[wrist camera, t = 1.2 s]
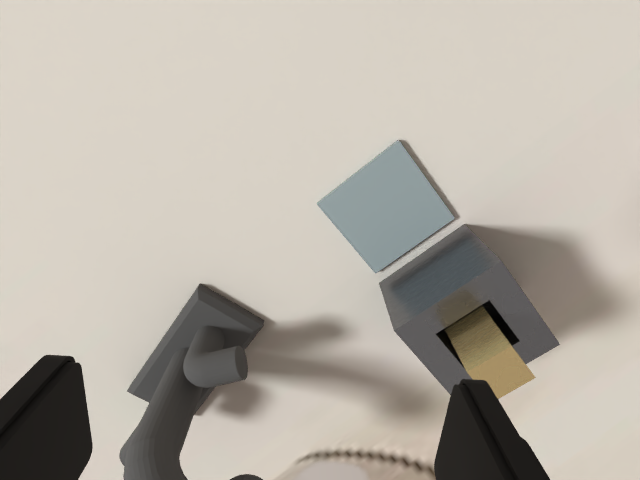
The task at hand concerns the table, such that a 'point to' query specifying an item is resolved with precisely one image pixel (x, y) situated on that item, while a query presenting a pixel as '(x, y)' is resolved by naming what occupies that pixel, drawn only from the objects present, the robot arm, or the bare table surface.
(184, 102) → the table surface
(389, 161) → the rubber pad
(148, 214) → the table surface
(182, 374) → the faucet
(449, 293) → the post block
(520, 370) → the brass peg
